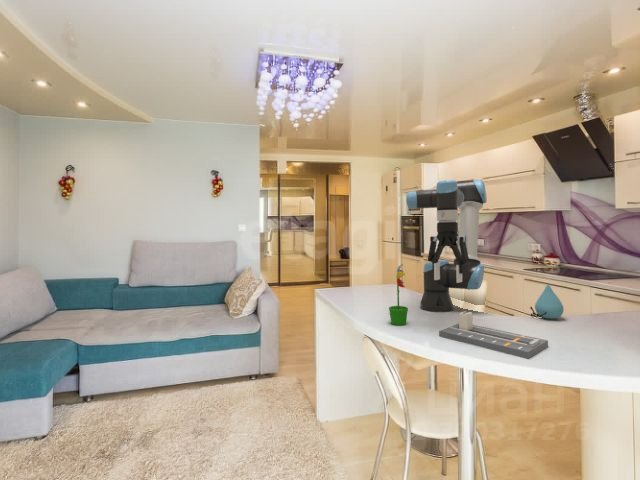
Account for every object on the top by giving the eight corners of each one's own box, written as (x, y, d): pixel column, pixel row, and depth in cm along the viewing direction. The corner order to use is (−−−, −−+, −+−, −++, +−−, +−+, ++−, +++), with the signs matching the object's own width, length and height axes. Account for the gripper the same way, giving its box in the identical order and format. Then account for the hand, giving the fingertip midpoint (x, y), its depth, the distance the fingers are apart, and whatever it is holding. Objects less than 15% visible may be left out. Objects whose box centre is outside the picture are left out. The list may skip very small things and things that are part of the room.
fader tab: (464, 327, 131) (464, 310, 131) (472, 328, 129) (472, 312, 129) (459, 329, 129) (459, 312, 128) (467, 330, 126) (466, 313, 126)
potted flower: (408, 326, 141) (407, 265, 141) (389, 326, 143) (387, 265, 142) (407, 320, 151) (406, 262, 150) (389, 320, 152) (388, 262, 151)
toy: (536, 312, 159) (536, 279, 158) (567, 316, 151) (567, 282, 150) (527, 319, 149) (527, 283, 148) (559, 323, 140) (559, 286, 140)
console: (462, 327, 139) (462, 319, 138) (547, 346, 115) (547, 336, 115) (439, 336, 129) (439, 327, 128) (528, 358, 105) (528, 348, 105)
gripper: (417, 222, 139) (418, 279, 140) (469, 220, 122) (469, 285, 123) (428, 222, 144) (429, 277, 144) (479, 220, 127) (480, 282, 128)
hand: (447, 280), depth 134 cm, fingers open, 9 cm apart
